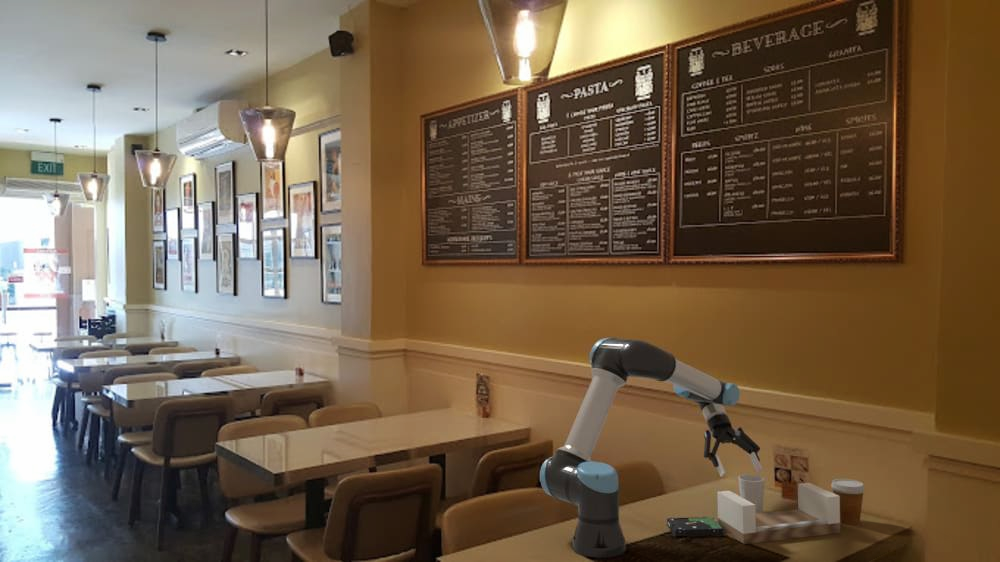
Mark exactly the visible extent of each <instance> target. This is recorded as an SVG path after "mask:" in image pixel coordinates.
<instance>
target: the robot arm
mask: <svg viewBox="0 0 1000 562" xmlns="http://www.w3.org/2000/svg"><path fill="white" fill-rule="evenodd" d="M589 359H590V361H589V364H590V366H591V369H590V372H591V373H590V374H591V375H592V379H591V382H590V383H589V387H588V388H587V390H586V393H585V396H584V398H583V400H582V403H581V404H580V405H581V406H580V408H579V410H578V412H577V415H576V418H575V419H574V421H573V424H572V426H571V428H570V431H569V434H568V436H567V438H566V440H565V443H564V445H563V446H561V447H558V448H557V449H556V452H555V454H554V456H550V457H548V458H546V459H545V461H544V462H542V465H541V467H540V470H539V482H540V484H541V488H542V490H543V491H544V493H546V494H547V495H548V496H551V497H552V498H554V499H556V500H560V501H564V502H567V503H569V504H572V505H575V506H577V517H578V518H577V519H578V520H577V523H576V527H575V531H574V534H573V537H572V549H573V550H574V551H575V552H576V553H578V554H579V555H582V556H585V557H590V558H597V559H598V558H599V559H603V558H604V559H605V558H613V557H617V556H620V555H622V554H624V552H626V549H627V546H626V545H627V541H626V538H625V536H624V533H623V529H622V526H621V523H620V504H619V503H620V488H619V487H620V483H619V475H618V471H617V470H616V469H615V468H614V467H613V466H612V465H609V464H607V463H605V462H601V461H600V462H598V461H592V459H591V456H592V454H593V452H594V449H595V447H596V444H597V441H598V439H599V437H600V434H601V431H602V429H603V427H604V424H605V422H606V419H607V417H608V414H609V412H610V410H611V408H612V405H613V402H614V399H615V397H616V396H617V395H616V394H617V393H618V390H619V389H620V388H621V387H624V386H625V385H626V382H627V381H628V378H629V377H632V378H633V377H634V378H642V379H643V378H644V379H651V380H655V381H657V382H659V383H660V382H661V383H662V382H668V383H670V384H672V385H673V391H674V392H675V394H676V395H678V396H679V397H681V398H683V399H685V400H687V401H691V402H693V403H695V404H697V405H698V406H699V409H700V410H701V412H702V413H701V414H702V415H703V417H704V419H705V422H706V424H707V426H708V428H709V429H707V430H705V432H704V433H703V437H704V447H703V449H704V450H703V457H704V458H705V459H707V458H708V461H711V463H712V465H713V466H714V467H715V468H716V469H717V471H718V474H719V476H720V478H723V477H724V476H725V474H726V473H727V472H726V470H725V467H724V466H723V464H722V461H721V459H720V456H719V455H718V454H717V451H718V449H719V447H720V443H721V445H722V444H732V445H736V446H737V447H739V448H740V449H742V450H743V451H745V452H746V453H748V454H749V459H750V462H751V463H752V464H753V467H754V469H755V471H756V473H757V474H760V473H761V472H762V471H763V467H762V465H761V462H760V461H761V459H760V457H759V455H758V453H759V452H760V450H761V447H760V446H759V445H758V444H757V443H756V442H755V441H753V440H752V439H751V438H750V437H749V436H748V434H746V433H745V431H744V430H743V429H742V427H741V426H740V427H738V428H735V429H734V428H733V426H732V422H731V421H730V419H729V416H728V414H727V412H726V409H725V408H724V406H726V407H727V406H731V407H732V406H735V405H737V403H738V402H739V400H740V396H741V395H740V393H741V391H740V388H739V386H738V385H737V384H735V383H731V382H724V381H723V380H722V381H721V380H720V379H717V378H715V377H713V376H711V375H708V374H707V373H705V372H703V371H701V370H699V369H697V368H695V367H693V366H691V365H688V364H686V363H685V362H682V361H680V360H678V359H676V357H675V356H674V354H672V353H671V352H669V351H667V350H666V349H663V348H661V347H659V346H657V345H655V344H652V343H650V342H647V341H645V340H641V339H628V338H618V337H605V338H601V339H599V340H598V341H596V342H595V343H594V345H593V346H592V348H591V350H590V353H589ZM712 437H713V438H714V439H715V442H714V443H713V444H714V445H713V447H712V450H711V442H712V441H711V440H712Z"/></svg>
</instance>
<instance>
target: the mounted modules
mask: <svg viewBox="0 0 1000 562" xmlns="http://www.w3.org/2000/svg"><path fill="white" fill-rule="evenodd" d="M716 493H717V495H716V496H717V498H716V499H717V519H718V518H719V519H721V520H722V521H724V522H725V523H727V524H729V525H730V526H732V527H733V528H735V529H737V530H738V531H740V532H741V533H743V534H747V533H755V532H756V515H755V504H753V503H751V502H749V501H747V500H746V499H744V498H742V497H740V495H739V494H736V493H735V492H733V491H730V490H723V491H722V490H721V491H717V492H716ZM797 501H798V502H797V503H798V506H797V509H799V510H801V511H803V512H805V513H807V514H809V515H811V516H813V517H815V518H817V519H819V520H821V519H824V520H826V521H827V524H834V523H840V524H841V522H840V496H838V495H836V494H834V493H833V491H832V492H831V491H829V490H827V489H824V488H822V487H820V486H817V485H815V484H813V483H810V482H803V483H801V482H800V483H797Z"/></svg>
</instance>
